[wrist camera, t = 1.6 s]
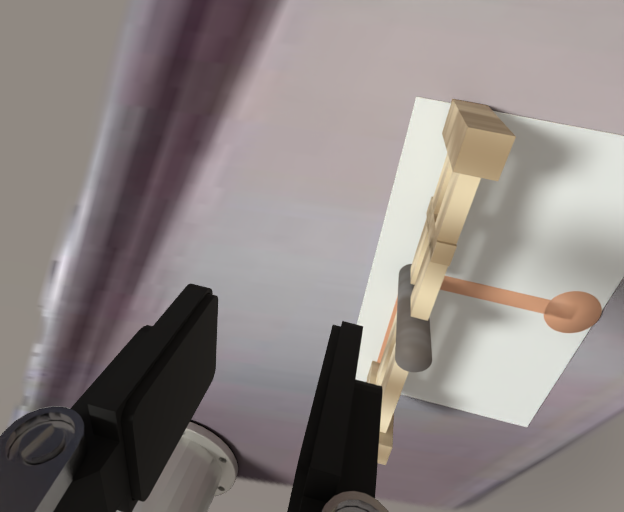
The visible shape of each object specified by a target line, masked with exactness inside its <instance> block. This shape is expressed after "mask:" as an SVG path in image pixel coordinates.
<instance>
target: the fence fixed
mask: <svg viewBox="0 0 624 512" xmlns="http://www.w3.org/2000/svg"><path fill="white" fill-rule="evenodd" d="M411 265H412V264H407V265H405V266H403V267H402V268H401V269H400V271H399V278H398V301H397V312H396V315H395V318H394V322H393V325H392V328H391V331H390V334H389V337H388V340H387V344H386V347H385V350H384V353H383V356H382V359H381V362H380V363H378V362H376V361H372V363H371V366H370V370H369V373H368V376H367V382H368V383H371V384H375V385H379V386H382V389H383V393H382V408H381V421H380V435H379V448H378V462H377V463H380V464H384V465H386V462H387V460H388V457H389V455H390V452H391V450H392V444H393V420H394V410H395V407H396V405H397V402H398V399H399V397H400V394H401V391H402V389H403V386H404V383H405V381H406V378H407V375H408V373H409V372H421V371H424V370H426V369H427V368H429V367H430V365H431V363H432V348H431V333H430V317H429V319H428V321H427V320H423V319H419V318H415V317H411V294H412V291H413V288H414V285H413V284H411Z"/></svg>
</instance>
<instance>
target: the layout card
mask: <svg viewBox="0 0 624 512" xmlns="http://www.w3.org/2000/svg"><path fill="white" fill-rule="evenodd" d="M450 105H451V103H449V102H444V101H438V100H433V99H428V98H422V97H417V96H416V100H415V104H414V108H413V112H412V115H411V119H410V123H409V127H408V131H407V135H406V138H405V142H404V146H403V150H402V154H401V158H400V161H399V165H398V169H397V173H396V177H395V181H394V184H393V188H392V192H391V196H390V200H389V203H388V207H387V211H386V215H385V219H384V223H383V226H382V230H381V234H380V238H379V242H378V246H377V249H376V253H375V257H374V261H373V265H372V268H371V272H370V276H369V280H368V284H367V288H366V291H365V295H364V299H363V303H362V307H361V311H360V314H359V318H358V322H357V325H360V326H363V333H362V339H361V346H360V352H359V359H358V365H357V372H356V380H360V381H364V382H367V376H368V373H369V370H370V366H371V363H372V361H376V362H378V363H380V362H381V359H382V356H383V353H384V350H385V347H386V344H387V340H388V337H389V334H390V331H391V328H392V325H393V322H394V318H395V315H396V312H397V301H398V278H399V271H400V269H401V268H402V267H403V266H405V265H407V264H412V262H413V259H414V256H415V253H416V249H417V246H418V243H419V240H420V237H421V234H422V231H423V228H424V224H425V221H426V218H427V216H426V212H427V209H428V206H429V203H430V200H431V197H433V196H434V193H435V190H436V187H437V184H438V181H439V177H440V174H441V171H442V168H443V165H444V162H445V159H446V155H447V149H446V146H445V142H444V139H443V135H442V132H443V128H444V125H445V122H446V119H447V115H448V112H449V109H450ZM493 112H494V113H495V114H496V115H497V116H498V117H499V118H500V120H501V121H502V122H503V123H504V124H505V125H506V126H507V127H508V128H509V129H510V131H511V132H512V133H513V134H514V135H515V136H516V138H515V140H514V143H513V145H512V148H511V150H510V153H509V156H508V158H507V161H506V163H505V166H504V168H503V171H502V173H501V176H500V178H499V181H494V180H489V179H484V178H481V180H480V183H479V185H478V188H477V191H476V193H475V196H474V199H473V201H472V204H471V207H470V209H469V212H468V215H467V217H466V220H465V223H464V225H463V228H462V231H461V233H460V236H459V239H458V241H457V244H456V245H457V248H456V250H455V253H454V256H453V258H452V261H451V264H450V266H448V268H447V271H446V274H445V276H444V279H443V282H442V284H441V287H440V290H439V292H438V295H437V298H436V300H435V303H434V306H433V308H432V311H431V314H430V316H429V317H430V333H431V348H432V363H431V365H430V367H429V368H427V369H426V370H424V371H421V372H409V373H408V375H407V378H406V381H405V383H404V386H403V389H402V391H401V394H402V395H405V396H409V397H413V398H417V399H421V400H424V401H428V402H432V403H436V404H440V405H444V406H447V407H451V408H455V409H459V410H463V411H467V412H470V413H474V414H478V415H482V416H486V417H489V418H493V419H497V420H501V421H505V422H509V423H512V424H516V425H520V426H524V427H527V426H528V425H529V423H530V422H531V420H532V419H533V417H534V416H535V414H536V412H537V411H538V409H539V408H540V406H541V405H542V403H543V402H544V400H545V398H546V397H547V395H548V394H549V392H550V391H551V389H552V388H553V386H554V384H555V383H556V381H557V380H558V378H559V377H560V375H561V374H562V372H563V370H564V369H565V367H566V366H567V364H568V363H569V361H570V359H571V358H572V356H573V355H574V353H575V352H576V350H577V349H578V347H579V345H580V344H581V342H582V341H583V339H584V338H585V336H586V335H587V333H588V331H589V330H590V328H591V327H592V326H593V325H594V324H595V323H596V322H597V321H598V320H599V318H600V316H601V312H602V310H603V308H604V307H605V305H606V303H607V302H608V300H609V299H610V297H611V296H612V294H613V293H614V291H615V289H616V288H617V286H618V285H619V283H620V282H621V280H622V278H623V277H624V135H619V134H613V133H608V132H603V131H597V130H592V129H587V128H582V127H576V126H571V125H566V124H560V123H555V122H550V121H544V120H539V119H534V118H529V117H523V116H518V115H513V114H507V113H502V112H497V111H493Z"/></svg>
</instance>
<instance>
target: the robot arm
mask: <svg viewBox="0 0 624 512" xmlns="http://www.w3.org/2000/svg"><path fill="white" fill-rule="evenodd" d="M217 316H218V297H217V296H215V295H212V289H210V288H206V287H202V286H198V285H194V284H189V285H187V286H186V287H185V289H184V290H183V291H182V292H181V293H180V295H179V296H178V297H177V298H176V299H175V301H174V302H173V303H172V304H171V305H170V307H169V308H168V309H167V310H166V311H165V312H164V314H163V315H162V316H161V317H160V318H159V320H158V321H157V322H156V323H155V324H154V326H149V325H146V326H144V327H142V328H141V329H140V330H139V331H138V332H137V333H136V334H135V336H134V337H133V338H132V339H131V340H130V341H129V342H128V344H127V345H126V346H125V347H124V348H123V349H122V350H121V352H120V353H119V354H118V355H117V356H116V357H115V358H114V360H113V361H112V362H111V363H110V364H109V365H108V366H107V368H106V369H105V370H104V371H103V372H102V373H101V374H100V376H99V377H98V378H97V379H96V380H95V381H94V382H93V384H92V385H91V386H90V387H89V388H88V389H87V390H86V392H85V393H84V394H83V395H82V396H81V397H80V398H79V400H78V401H77V402H76V403H75V404H74V405H73V406H72V408H71V409H69V408H66V407H56V406H52V407H46V408H41V409H38V410H35V411H33V412H30V413H28V414H26V415H24V416H22V417H21V418H19V419H18V420H16V421H14V422H13V423H12V424H11V425H10V426H9V427H8V428H7V429H6V430H5V431H4V432H3V433H2V434H1V436H0V512H208V509H209V507H210V504H211V502H212V500H213V497H214V496H218V495H221V494H223V493H225V492H227V491H228V490H229V489H231V487H232V486H233V484H234V482H235V480H236V477H237V474H238V465H237V461H236V459H235V456H234V454H233V453H232V451H231V450H230V449H229V447H228V446H227V445H226V444H225V443H224V442H223V441H222V440H221V439H220V438H219V437H217V436H216V435H215V434H214V433H212V432H210V431H209V430H207V429H205V428H204V427H202V426H199V425H197V424H195V423H192V422H190V420H191V419H192V417H193V415H194V413H195V411H196V409H197V408H198V406H199V404H200V402H201V400H202V399H203V397H204V395H205V393H206V391H207V389H208V388H209V386H210V384H211V382H212V380H213V377H214V374H215V369H216V343H217ZM362 333H363V326H360V325H356V324H352V323H348V322H344V321H342V325H341V327H340V326H336V325H333V326H332V330H331V334H330V338H329V342H328V346H327V350H326V354H325V358H324V361H323V365H322V369H321V373H320V377H319V381H318V385H317V389H316V393H315V397H314V401H313V405H312V409H311V413H310V417H309V421H308V425H307V429H306V432H305V436H304V440H303V444H302V448H301V452H300V456H299V461H298V465H297V469H296V474H295V479H294V483H293V488H292V493H291V497H290V502H289V507H288V511H287V512H388V510H387V509H386V508H385V507H384V506H383V505H382V504H381V503H380V502H379V501H378V500H376V499H375V489H376V476H377V462H378V448H379V435H380V421H381V408H382V393H383V389H382V386H379V385H375V384H371V383H368V382H364V381H360V380H356V372H357V365H358V359H359V352H360V346H361V339H362Z"/></svg>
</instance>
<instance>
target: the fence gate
mask: <svg viewBox="0 0 624 512" xmlns="http://www.w3.org/2000/svg"><path fill="white" fill-rule="evenodd" d="M442 135H443V139H444V142H445V146H446V149H447V155H446V159H445V162H444V165H443V168H442V171H441V174H440V177H439V181H438V184H437V187H436V190H435V193H434V196H433V197H431V200H430V203H429V206H428V209H427V212H426V216H427V218H426V221H425V224H424V228H423V231H422V234H421V237H420V240H419V243H418V246H417V249H416V253H415V256H414V259H413V262H412V265H411V284H413V285H414V288H413V291H412V294H411V317H415V318H419V319H423V320H427V321H428V319H429V316H430V314H431V311H432V308H433V306H434V303H435V300H436V298H437V295H438V292H439V290H440V287H441V284H442V282H443V279H444V276H445V274H446V271H447V268H448V266H450V264H451V261H452V258H453V256H454V253H455V250H456V248H457V245H456V244H457V241H458V239H459V236H460V233H461V231H462V228H463V225H464V223H465V220H466V217H467V215H468V212H469V209H470V207H471V204H472V201H473V199H474V196H475V193H476V191H477V188H478V185H479V183H480V180H481V178H484V179H489V180H494V181H499V178H500V176H501V173H502V171H503V168H504V166H505V163H506V161H507V158H508V156H509V153H510V150H511V148H512V145H513V143H514V140H515V138H516V136H515V135H514V134H513V133H512V132H511V131H510V129H509V128H508V127H507V126H506V125H505V124H504V123H503V122H502V121H501V120H500V118H499V117H498V116H497V115H496V114H495V113H494V112H493V111H492V110H491V109H490V107H489V106H488V105H483V104H478V103H472V102H467V101H462V100H456V99H452V102H451V105H450V109H449V112H448V115H447V119H446V122H445V125H444V128H443V132H442Z"/></svg>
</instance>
